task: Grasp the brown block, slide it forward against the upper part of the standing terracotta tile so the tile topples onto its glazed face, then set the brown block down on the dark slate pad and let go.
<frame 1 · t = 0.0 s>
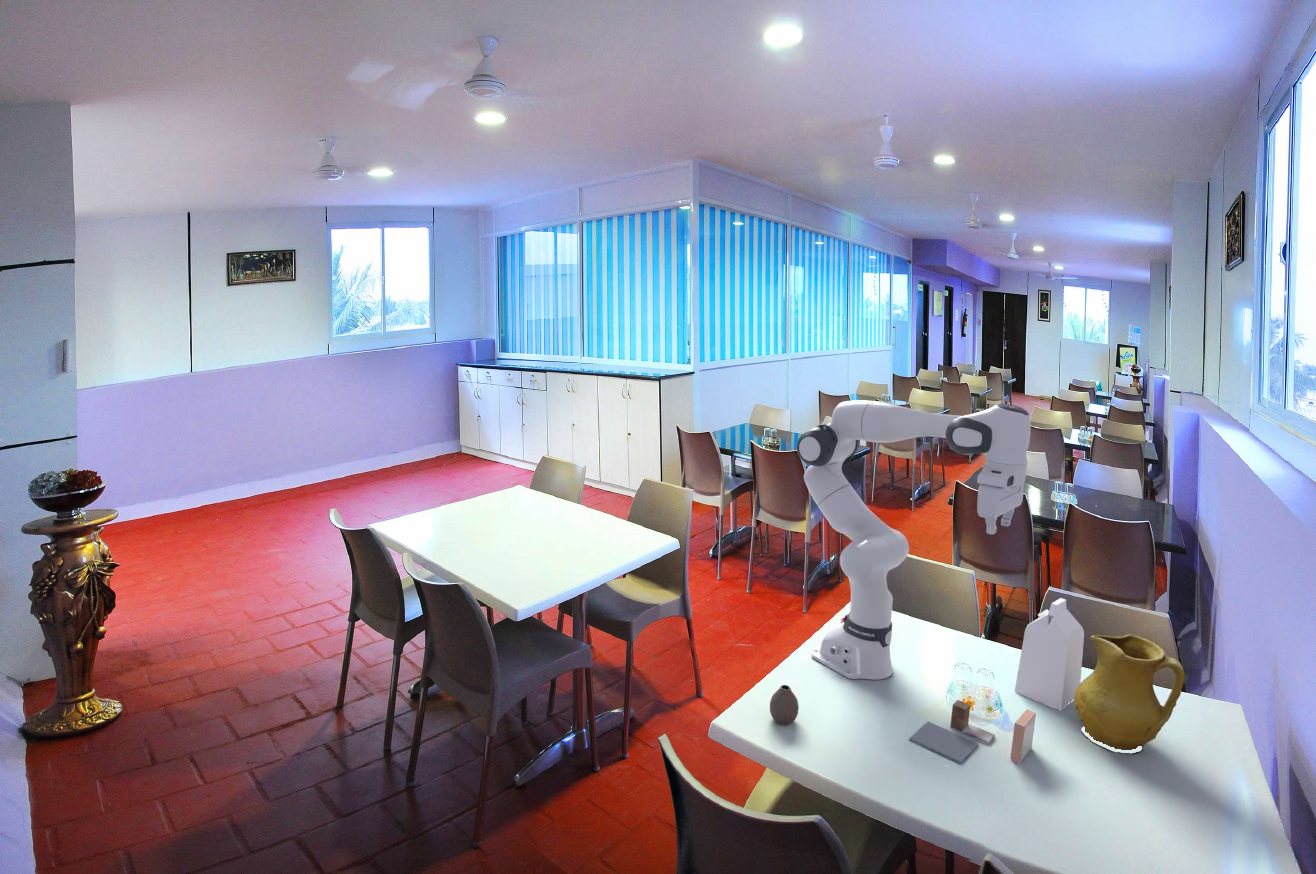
hand: (998, 529, 165), 48 cm above the table, fingers open, 8 cm apart
brown block: (959, 727, 167), on the table
pitcher: (1115, 741, 163), on the table
milk: (1046, 694, 183), on the table
pad: (943, 742, 160), on the table
tile: (1021, 753, 157), on the table
vase: (783, 721, 168), on the table
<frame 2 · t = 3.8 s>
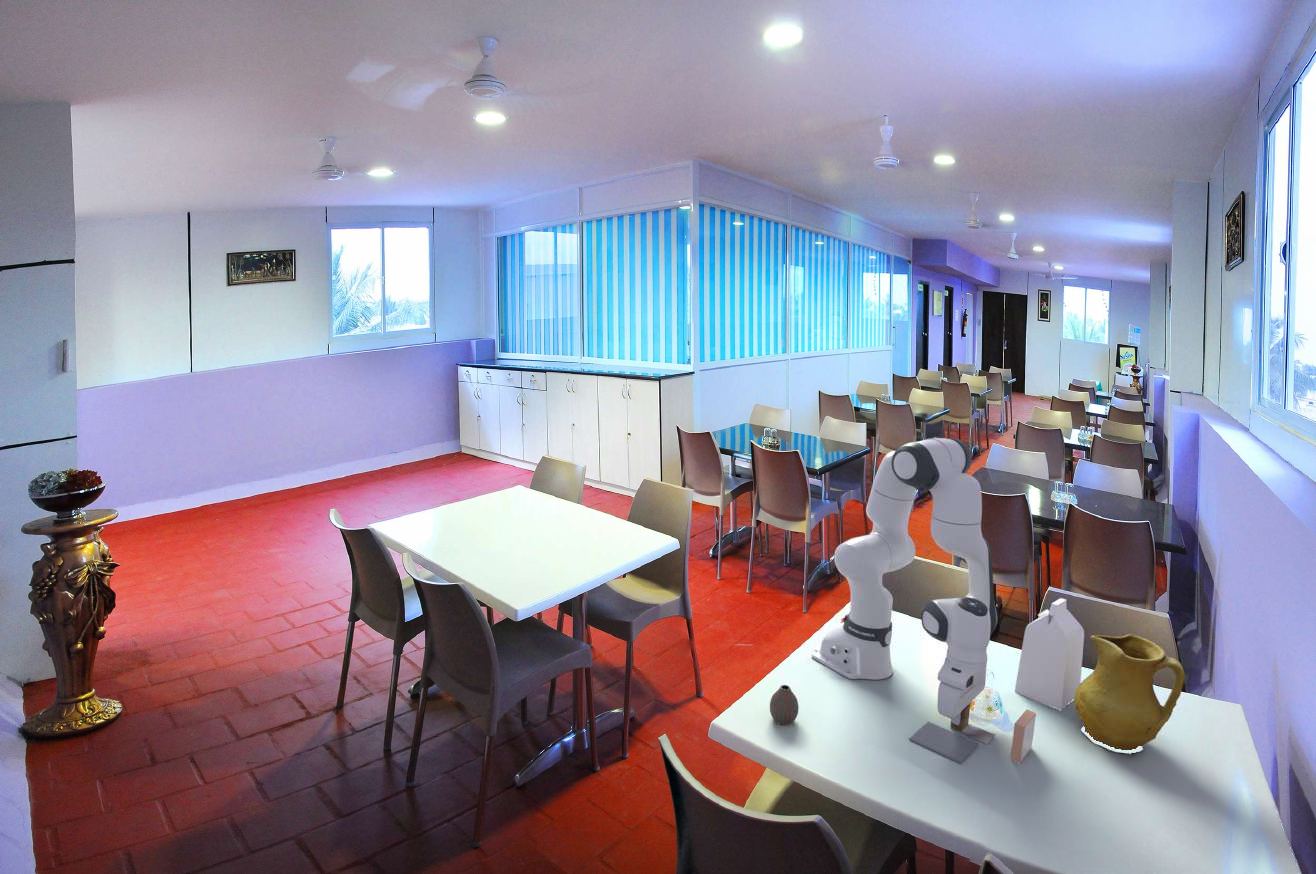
hand: (959, 719, 166), 2 cm above the table, fingers closed on brown block, 3 cm apart
brown block: (959, 727, 167), on the table, touching gripper
everything else where it was.
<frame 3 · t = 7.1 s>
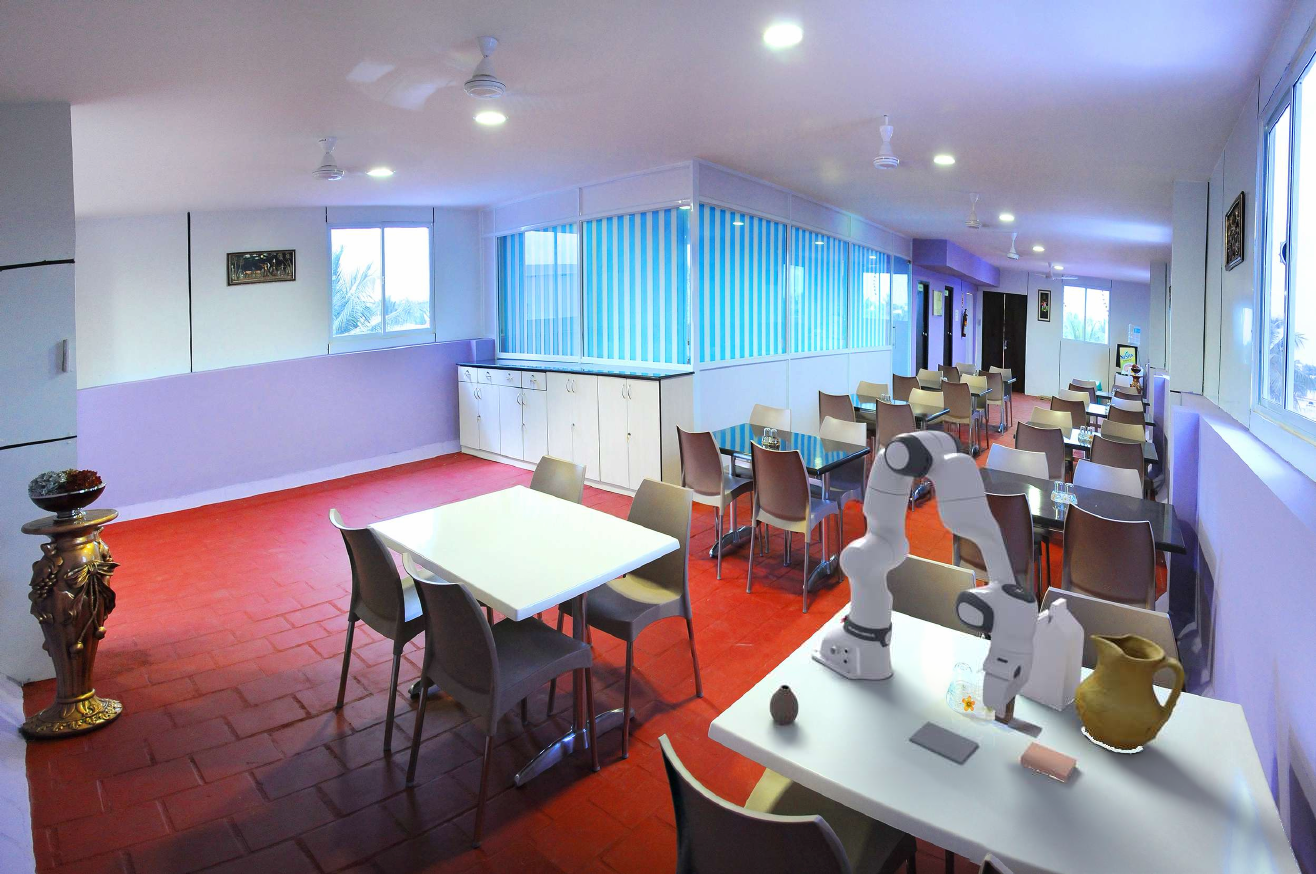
hand: (1004, 712, 159), 8 cm above the table, fingers closed on brown block, 3 cm apart
brown block: (1003, 720, 159), point 6 cm above the table, touching gripper
tile: (1026, 753, 156), point 1 cm above the table, tilted 90°
everything else where it was.
when the fingers open (3 cm above the table, at t = 12.1 s): brown block stays where it is, resting on pad.
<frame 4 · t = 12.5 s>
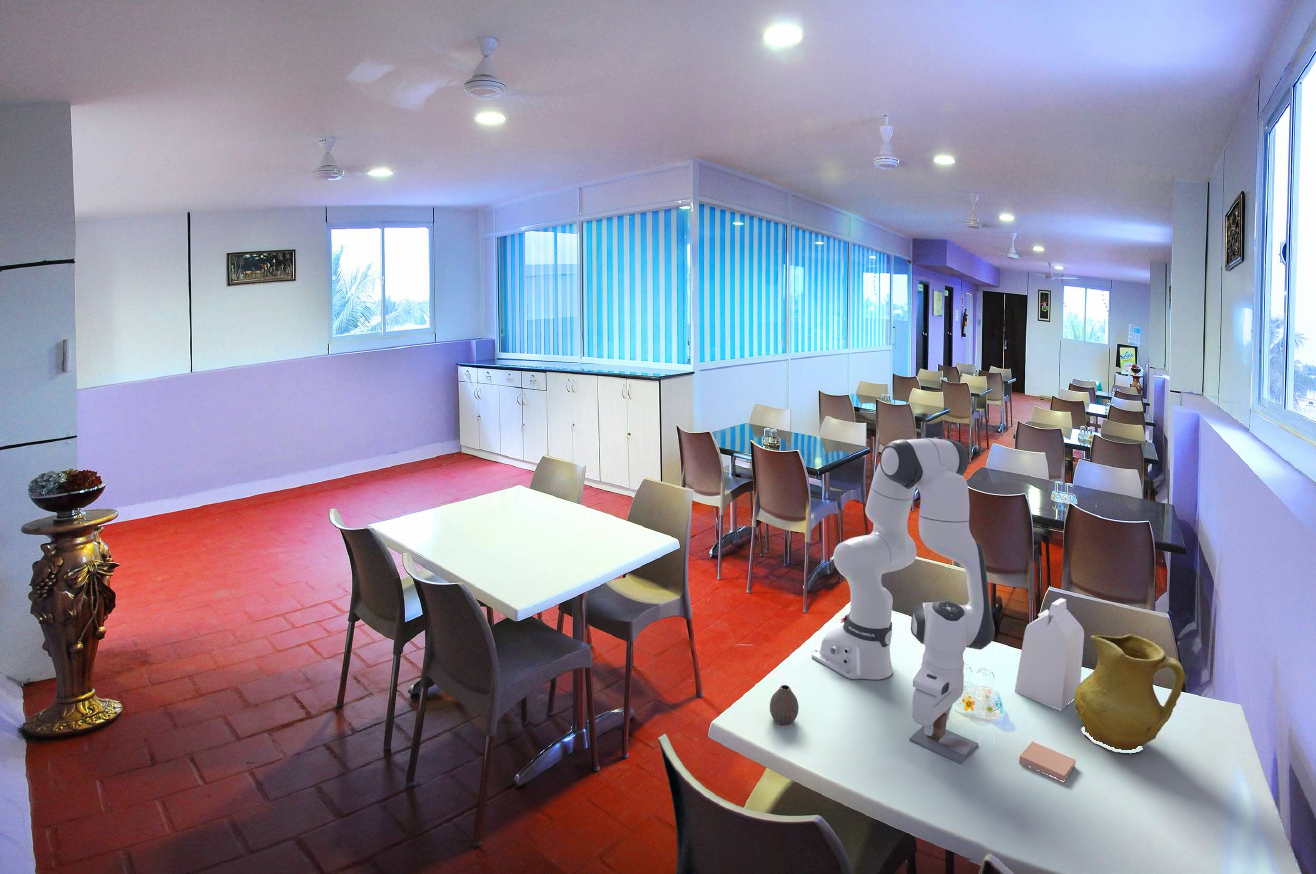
hand: (936, 726, 161), 3 cm above the table, fingers open, 7 cm apart
brown block: (935, 736, 162), resting on pad
everything else where it was.
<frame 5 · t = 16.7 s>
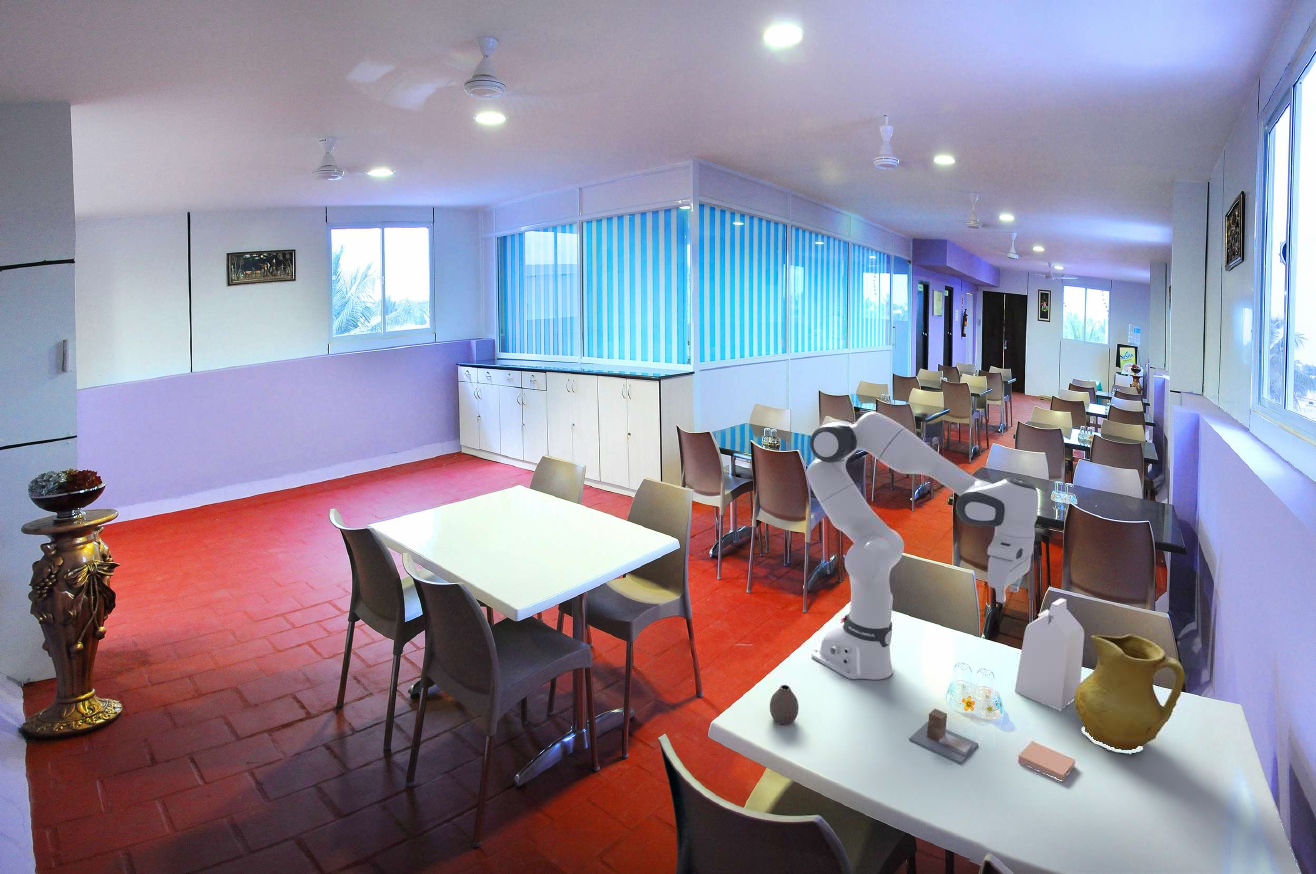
hand: (1007, 596, 173), 29 cm above the table, fingers open, 8 cm apart
nothing on the table moved.
at the end: tile tilted 90°; brown block inside the target area on the pad (1.9 cm from its centre), point 0.5 cm above the pad's base; the gripper is holding nothing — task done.
